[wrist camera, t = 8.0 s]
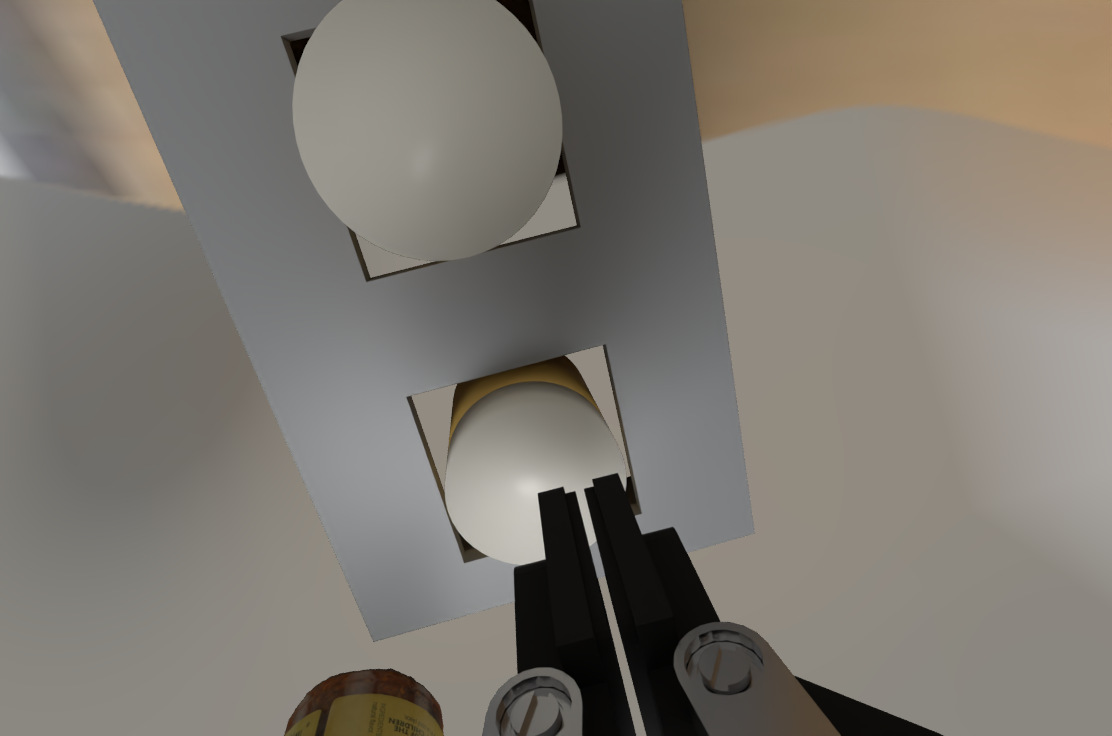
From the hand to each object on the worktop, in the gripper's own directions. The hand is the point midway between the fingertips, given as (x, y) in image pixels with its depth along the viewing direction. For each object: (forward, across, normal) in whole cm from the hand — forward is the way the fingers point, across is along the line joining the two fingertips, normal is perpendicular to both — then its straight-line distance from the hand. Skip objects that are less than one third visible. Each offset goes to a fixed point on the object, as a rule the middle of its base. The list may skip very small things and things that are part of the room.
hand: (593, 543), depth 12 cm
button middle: (+7, +1, -8) cm, 11 cm away
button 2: (+9, +1, 0) cm, 9 cm away
